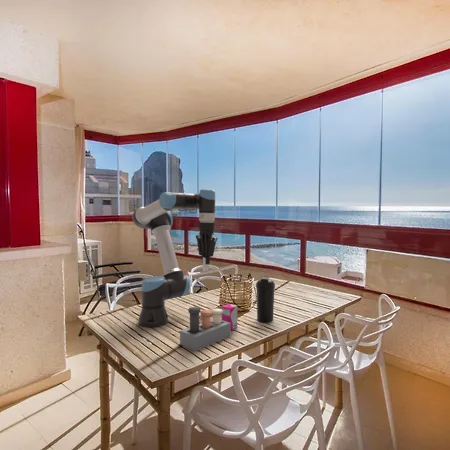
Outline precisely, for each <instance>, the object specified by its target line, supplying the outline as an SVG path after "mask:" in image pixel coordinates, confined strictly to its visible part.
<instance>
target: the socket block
mask: <svg viewBox="0 0 450 450" xmlns="http://www.w3.org/2000/svg"><path fill="white" fill-rule="evenodd" d="M231 332H232V331H231V323H229V322H226V321H224V320H222V319H221V324H219V325H215V324H213V318H211V328H209V329H206V330H205V329H203V328H202V322H199V331H197V332H192V331H190V326H189V327H185V328H183V329H181V330H179V345H182V346H183V347H185V348H188V349H189V350H191V351H194V352H198V351H199V350H202V349H204V348H206V347H208V346H211V345H213V344H215V343H217V342H219V341H222V340H224V339H226V338H228V337H230V336H232V335H231Z"/></svg>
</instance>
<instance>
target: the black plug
mask: <svg viewBox="0 0 450 450" xmlns="http://www.w3.org/2000/svg"><path fill="white" fill-rule="evenodd" d="M201 311H202V310H201V307H198V306H193V307H189V308H188V312H187V313H189V327H190V331H192V332H197V331H199V324H200V312H201Z"/></svg>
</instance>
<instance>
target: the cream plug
mask: <svg viewBox="0 0 450 450" xmlns="http://www.w3.org/2000/svg"><path fill="white" fill-rule="evenodd" d="M211 311H212V319H213V324H215V325H219V324H221V320H222V313H223V310H222V308H217V307H216V308H212V309H211Z"/></svg>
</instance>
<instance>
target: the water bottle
mask: <svg viewBox="0 0 450 450" xmlns="http://www.w3.org/2000/svg"><path fill="white" fill-rule="evenodd" d="M255 288H256V317H257V318H256V319H257V321H258V322H259V323H262V324H268V323H269V324H271V323H272V321H273V322H274V311H275V309H274V304H275V288H276V284H275V282H274V280H272V279H271V276H265V275H263V276H261V279H258V280H257V281H256V282H255Z"/></svg>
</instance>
